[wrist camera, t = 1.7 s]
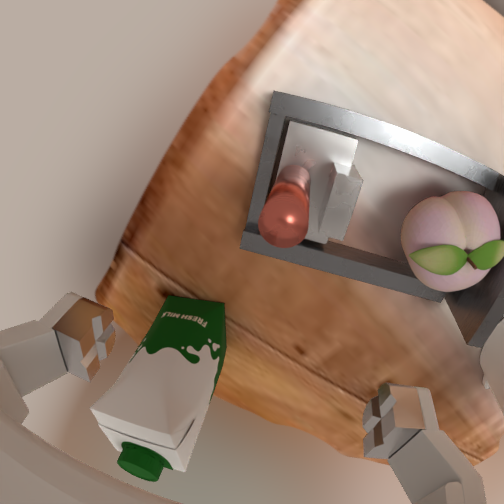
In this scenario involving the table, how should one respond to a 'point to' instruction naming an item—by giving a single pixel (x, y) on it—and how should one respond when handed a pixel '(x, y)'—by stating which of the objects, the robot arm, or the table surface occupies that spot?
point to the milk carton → (165, 388)
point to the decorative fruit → (452, 240)
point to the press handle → (311, 188)
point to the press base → (364, 263)
